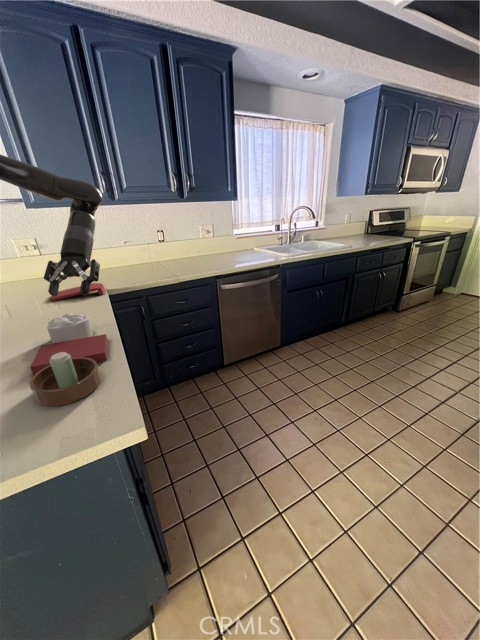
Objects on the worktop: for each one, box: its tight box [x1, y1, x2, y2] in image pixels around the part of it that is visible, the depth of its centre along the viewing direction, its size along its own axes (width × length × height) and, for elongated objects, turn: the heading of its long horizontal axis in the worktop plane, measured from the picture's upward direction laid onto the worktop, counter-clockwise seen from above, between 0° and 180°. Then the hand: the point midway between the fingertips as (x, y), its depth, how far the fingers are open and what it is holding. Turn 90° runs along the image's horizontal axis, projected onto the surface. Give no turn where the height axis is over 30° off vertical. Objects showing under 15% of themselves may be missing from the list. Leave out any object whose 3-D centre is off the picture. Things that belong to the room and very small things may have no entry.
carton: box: [49, 282, 106, 302], centre depth 145 cm, size 12×5×25 cm
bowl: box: [29, 357, 102, 407], centre depth 72 cm, size 16×16×5 cm
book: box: [29, 333, 109, 376], centre depth 88 cm, size 20×14×3 cm
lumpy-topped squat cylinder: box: [46, 313, 94, 344], centre depth 98 cm, size 10×13×9 cm
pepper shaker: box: [49, 352, 79, 389], centre depth 71 cm, size 5×5×10 cm
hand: (68, 295), depth 73 cm, fingers open, 8 cm apart
